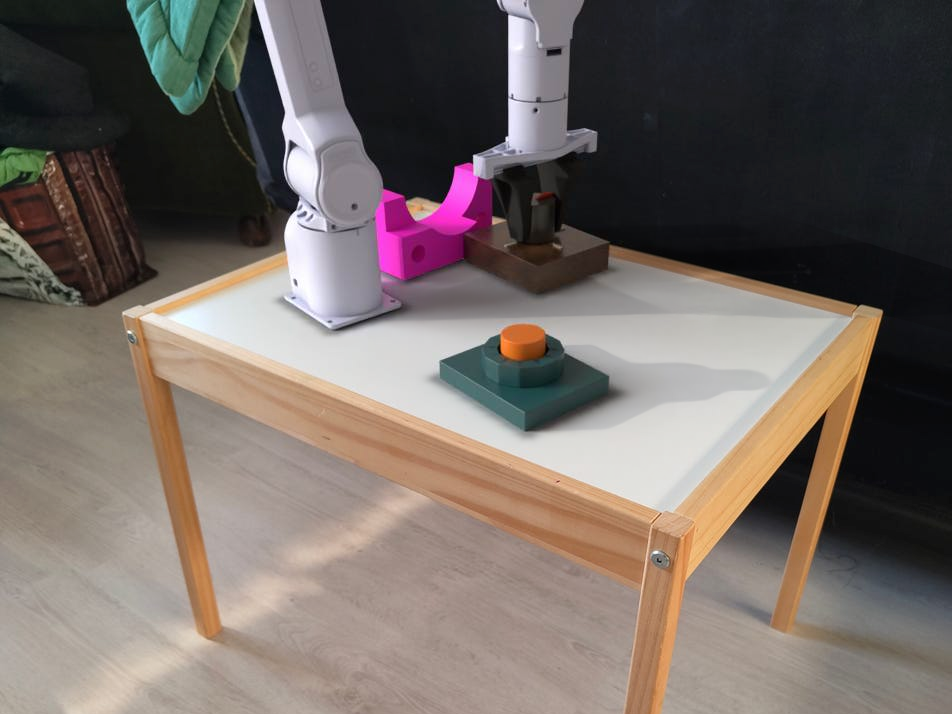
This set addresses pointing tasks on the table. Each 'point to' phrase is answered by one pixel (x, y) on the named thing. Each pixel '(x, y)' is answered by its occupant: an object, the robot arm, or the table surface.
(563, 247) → the dial panel
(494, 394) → the button base
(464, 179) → the toy block
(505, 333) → the button
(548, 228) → the heat dial
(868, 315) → the table surface
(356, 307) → the robot arm
